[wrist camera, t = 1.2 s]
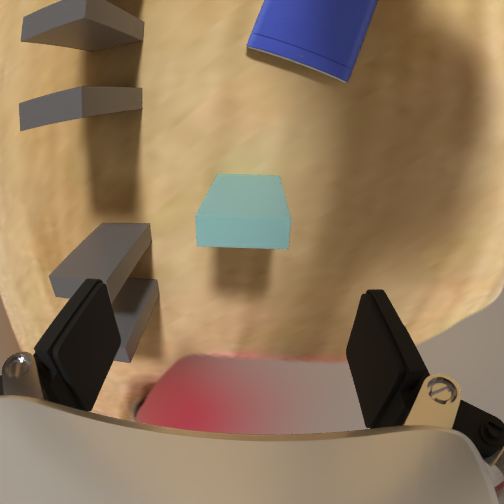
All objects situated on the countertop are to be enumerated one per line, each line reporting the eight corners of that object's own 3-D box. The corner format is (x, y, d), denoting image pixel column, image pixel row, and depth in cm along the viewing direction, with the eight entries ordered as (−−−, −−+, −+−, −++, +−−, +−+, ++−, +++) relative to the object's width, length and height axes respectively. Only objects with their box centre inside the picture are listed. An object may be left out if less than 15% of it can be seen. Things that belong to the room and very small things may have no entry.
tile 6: (112, 276, 29) (72, 338, 21) (157, 279, 29) (125, 347, 21) (116, 291, 30) (78, 353, 22) (159, 294, 30) (130, 363, 22)
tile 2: (92, 33, 18) (23, 17, 10) (144, 22, 18) (87, -9, 10) (91, 51, 19) (20, 41, 11) (143, 41, 19) (84, 17, 11)
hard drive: (295, -69, 13) (245, 45, 19) (389, -32, 14) (349, 82, 20) (293, -61, 14) (246, 48, 20) (383, -27, 15) (344, 83, 21)
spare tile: (217, 174, 24) (195, 215, 16) (279, 175, 24) (291, 218, 16) (217, 194, 25) (196, 246, 17) (278, 196, 25) (288, 249, 17)
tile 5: (102, 223, 27) (48, 275, 18) (149, 223, 26) (106, 281, 18) (105, 240, 27) (55, 296, 19) (151, 241, 27) (111, 303, 19)
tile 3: (90, 95, 21) (19, 103, 13) (142, 87, 21) (81, 86, 12) (90, 115, 22) (20, 131, 13) (142, 108, 22) (82, 117, 13)
